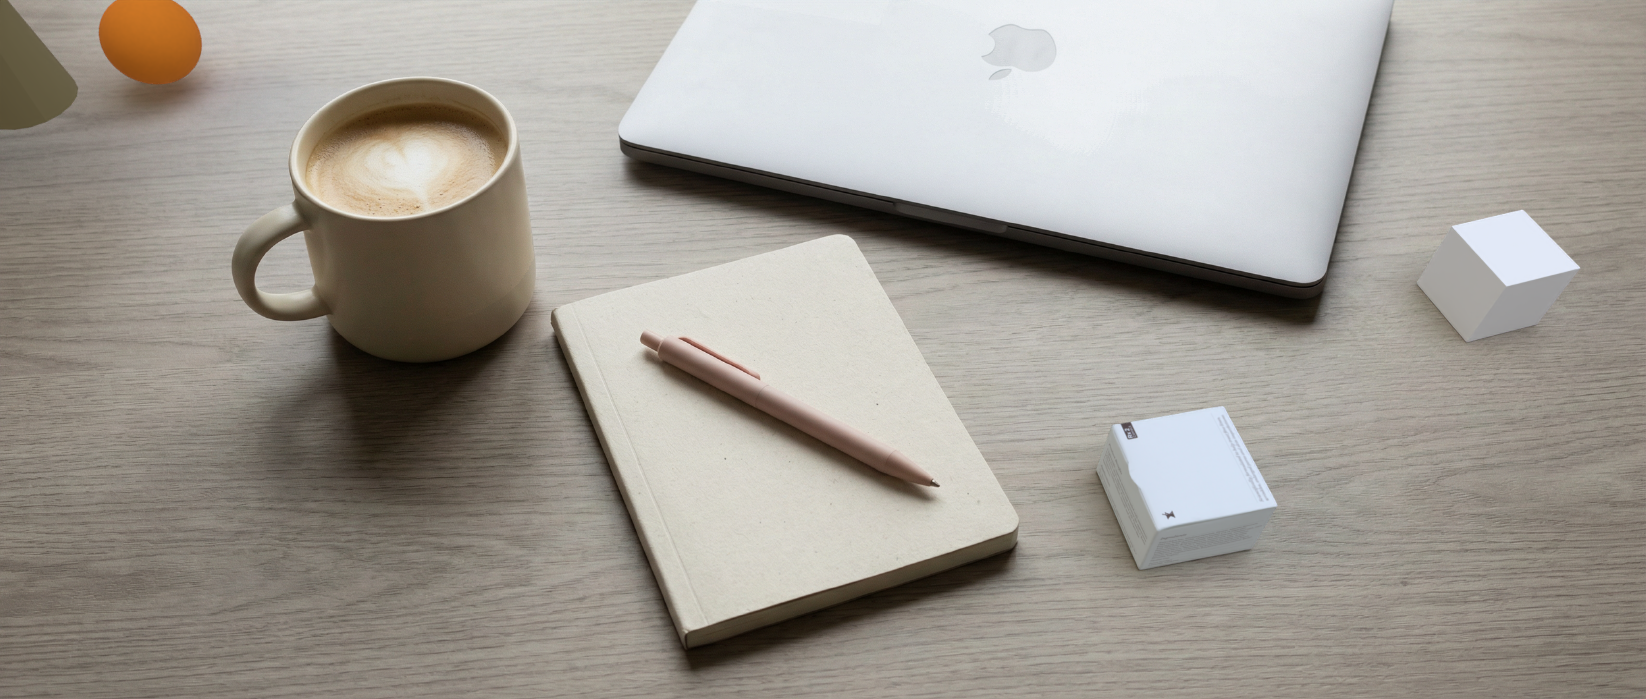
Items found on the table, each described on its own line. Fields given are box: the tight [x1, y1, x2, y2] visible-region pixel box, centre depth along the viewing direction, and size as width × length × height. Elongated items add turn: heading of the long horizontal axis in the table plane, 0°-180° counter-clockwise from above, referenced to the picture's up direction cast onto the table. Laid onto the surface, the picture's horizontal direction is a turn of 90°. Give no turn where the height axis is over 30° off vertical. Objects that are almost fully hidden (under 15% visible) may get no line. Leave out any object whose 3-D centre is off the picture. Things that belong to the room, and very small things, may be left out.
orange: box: [98, 0, 203, 85], centre depth 96 cm, size 8×8×8 cm
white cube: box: [1416, 209, 1581, 343], centre depth 80 cm, size 6×6×6 cm
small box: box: [1095, 405, 1279, 571], centre depth 69 cm, size 8×8×5 cm
